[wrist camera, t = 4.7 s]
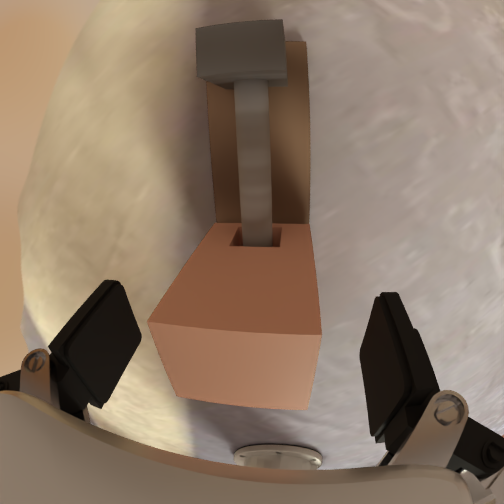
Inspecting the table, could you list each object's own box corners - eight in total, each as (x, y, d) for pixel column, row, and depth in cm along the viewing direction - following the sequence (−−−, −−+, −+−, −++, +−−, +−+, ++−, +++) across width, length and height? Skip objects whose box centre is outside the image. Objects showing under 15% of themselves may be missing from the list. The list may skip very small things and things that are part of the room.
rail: (302, 322, 18) (301, 380, 14) (229, 319, 19) (212, 374, 14) (305, 44, 11) (311, 8, 6) (208, 50, 11) (169, 23, 7)
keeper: (305, 288, 16) (307, 410, 9) (221, 285, 16) (176, 396, 9) (309, 224, 14) (321, 335, 7) (214, 222, 15) (147, 321, 8)
